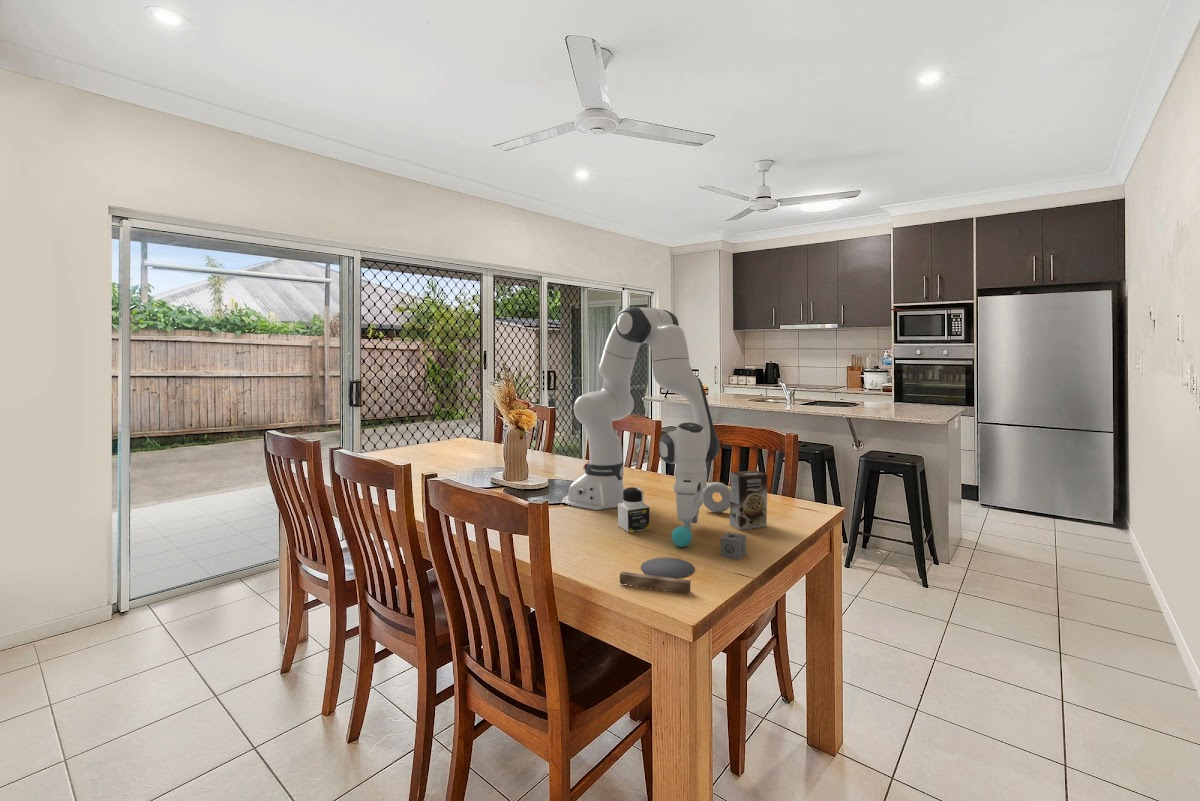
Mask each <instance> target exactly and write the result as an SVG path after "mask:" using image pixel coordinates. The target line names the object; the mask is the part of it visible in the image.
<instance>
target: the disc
mask: <svg viewBox="0 0 1200 801" xmlns="http://www.w3.org/2000/svg"><path fill="white" fill-rule="evenodd" d="M640 570H641V572H642V571H643V572H642V573H643V574H645V573H646V574H645V575H647V574H648V575H652V576H660V577H668V578H676V579H683V578H686V577H689V576H690V575H691V576H692V574H693V573H694V572H695V566H694V565H693V564H692V563H691V562H689V561H687V560H684V559H680V558H678V557H677V558H675V557H657V558H656V557H655V558H651V559H647V560H646V561H644V562H642V564H641V566H640Z"/></svg>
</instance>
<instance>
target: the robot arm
mask: <svg viewBox="0 0 1200 801" xmlns="http://www.w3.org/2000/svg"><path fill="white" fill-rule="evenodd" d="M679 325H680V324H679V320H678V318H677V316H676V314H674V313H673V312H671V311H669V310H666V309H659V308H654V307H638V306H628V307H625V308H622V309H621V310H620V312H618V315H616V320H615V322H614V324H613V326H612V327H611V329H610V331H609V334H608V336H607V339H606V342H605V344H604V348H603V351H602V356H601V358H600V362H599V366H598V374H599V375H600V376H601V377H602V387H601V389H600V390H596V391H589V392H587V393H584V394H582V395H579V397H578V398H576V400H575V402H574V404H573V413H574V416H575V418H576V420H577V421H578V422H579V423H580V424H582V426H583V428H584V430H585V433H586V435H587V440H588V449H589V450H588V451H589V452H588V453H589V454H588V455H589V461H587V463H585V464H584V465H582V467H583V468H582V470H584V473H583V474H581V475H580V476H579V477H578V478H576V479H575V480H574V481H573V482H571V484H570V486H569V489H568V494H567V495H566V496H565V497H563V498H562V500H561V504H562V503H565V504H568V505H567V506H569V505H571V506H572V507H576V508H583V509H590V510H594V511H599V510H606V509H612V508H618V504H619V503H624V502H623V490H624V489H625V487H624V462H623V458H622V451H623V450H622V439H621V438H620V436H619V435H617V434H616V432H615V430H614V426H613V422H615V421H620V420H623V419H624V418H626V417H628V416H630V415H631V413H632V412H633V411H634V407H635V401H634V398H633V395H632V394H631V388H630V386H631V377H632V374H633V370H634V367H635V363H636V360H637V356H638V353H639V349H640V346H641V345H642V344H648V345H649V347H650V350H651V351H650V352H651V362H652V372H653V377H654V380H655V382H656V383H657V384H658V385H659V386H660V387H661V388H663V389H665V390H666V391H668V392H671V393H674V394H677V395H679V396H682V397H683V398H684V399H686V400H687V401H688V402H689V405H690V407H691V410H692V415H693V418H694V422H695V423H694V422H683V423H680V424H678V425H677V426H676V429H674V430H672V431H669V432H665V433H664V434H663V435H662V436H661V437H660V439H659V440H658V455H659V457H660V459H661V460H663V461H664V462H665V463H666V464H672V465H676V466H675V479H674V480H675V483H674V485H673V491H674V493H676V495H675V496H676V497H675V504H676V514H677V519H678V521H679V522H682V523H683V526H684V527H687V528H688V529H689V530H690V531H691V532H692V531H693V526H692V524H697V523H698V522H699V512H700V508H701V506H702V505H704V503H703V490H704V488H706V487H707V485H708V479H707V478H708V469H707V466H706V464H707V463H711V462H713V461H714V459H716V458H717V456H718V455H719V452H720V449H721V445H720V440H719V437H718V434H717V433H716V430H715V426H714V423H713V419H712V415H711V412H710V407H709V402H708V399H707V394H706V391H705V389H704V385H703V382H702V380H701V378H699V377H697V376H696V375H695V374H694V371H693V369H692V367H691V363H690V358H689V357H690V356H689V355H690V354H689V349H688V348H689V347H688V345H687V344H688V343H687V339H686V336H685V332H684V330H683V329H682V328H681V327H680V326H679ZM571 506H570V507H571Z"/></svg>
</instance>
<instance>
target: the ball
mask: <svg viewBox="0 0 1200 801" xmlns="http://www.w3.org/2000/svg"><path fill="white" fill-rule="evenodd" d="M671 540H672V543H673V544H674V545H676V546H677V547H680V548H683V547H687V546H689V545H690V544H691V542H692V540H693V534H692V531H690V530H689V529H688V528H687V527H684V525H679V526H676V527H674V529H673V530H672V532H671Z"/></svg>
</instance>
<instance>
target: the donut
mask: <svg viewBox="0 0 1200 801" xmlns="http://www.w3.org/2000/svg"><path fill="white" fill-rule="evenodd" d="M715 493H718V494H720V496H721V500H720V501H715V499H713V495H714V494H715ZM703 506H704V507H705V508H706V509H708V510H709V511H710V512H713V513H716V514H719V513H724V512H726V511H727V510H730V488H729V487H728V485H727V484H724V483H723V482H719V481H713V482H710V483H707V487H706V488H704V489H703Z"/></svg>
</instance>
